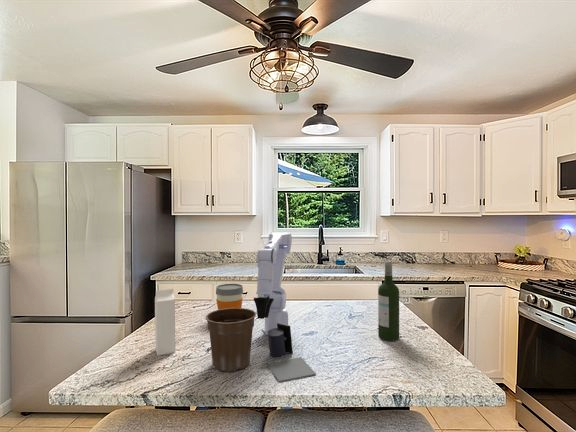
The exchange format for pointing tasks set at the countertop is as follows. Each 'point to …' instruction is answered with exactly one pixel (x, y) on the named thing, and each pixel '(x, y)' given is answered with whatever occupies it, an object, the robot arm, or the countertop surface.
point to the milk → (164, 322)
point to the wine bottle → (388, 307)
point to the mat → (290, 369)
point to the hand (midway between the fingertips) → (262, 318)
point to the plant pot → (230, 337)
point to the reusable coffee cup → (229, 296)
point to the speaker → (280, 341)
